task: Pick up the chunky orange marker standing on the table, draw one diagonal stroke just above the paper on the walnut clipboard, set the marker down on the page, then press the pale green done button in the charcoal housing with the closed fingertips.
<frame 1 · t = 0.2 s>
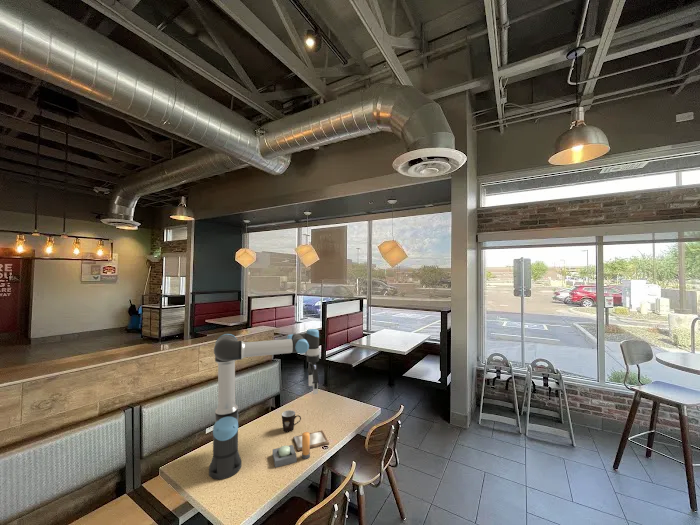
hand: (313, 389, 177), 27 cm above the table, fingers open, 13 cm apart
board: (310, 441, 169), on the table
done button: (284, 451, 154), point 4 cm above the table, slide at 0.0 cm
marker: (305, 456, 155), on the table
coffee mug: (290, 430, 182), on the table
button housing: (284, 458, 154), on the table
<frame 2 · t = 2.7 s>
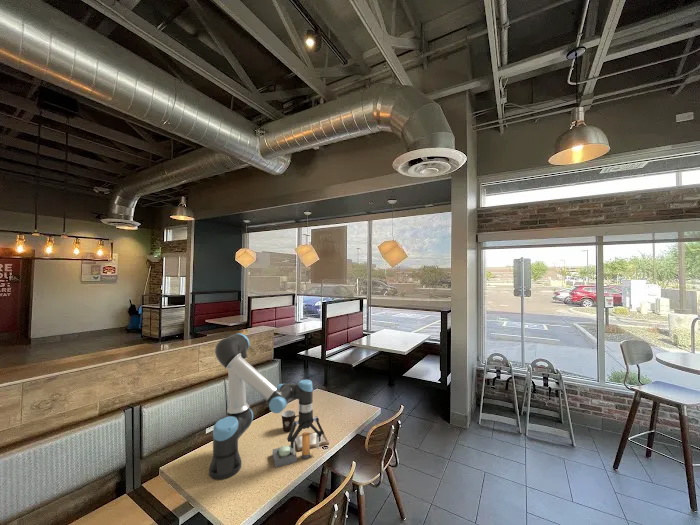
hand: (305, 450, 155), 3 cm above the table, fingers open, 12 cm apart
nothing on the table moved.
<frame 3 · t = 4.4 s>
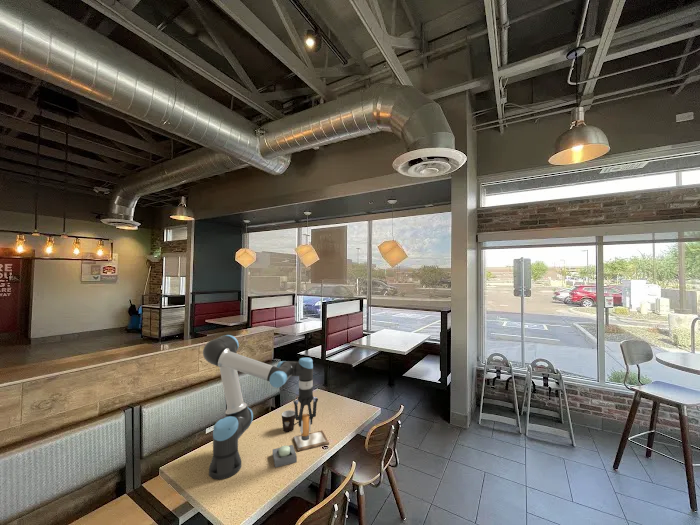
hand: (305, 431, 156), 13 cm above the table, fingers closed on marker, 3 cm apart
marker: (305, 438, 155), point 10 cm above the table, touching gripper
everything else where it was.
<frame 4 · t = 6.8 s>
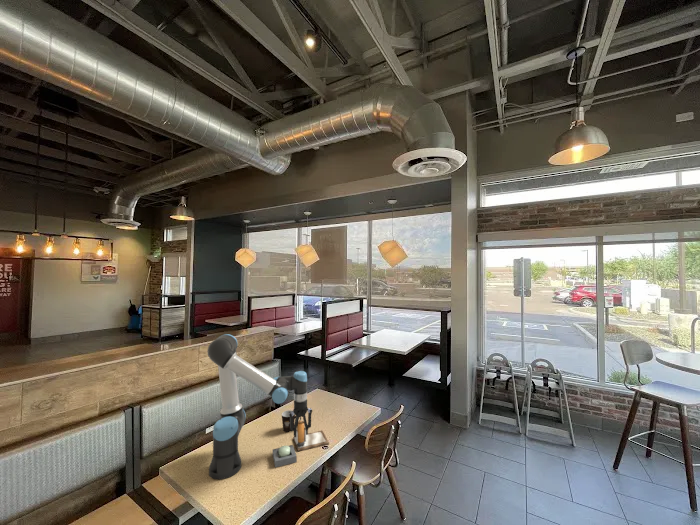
hand: (300, 441, 164), 3 cm above the table, fingers closed on marker, 4 cm apart
marker: (300, 444, 164), point 1 cm above the table, touching board, gripper
everything else where it was.
when the fingers open (3 cm above the table, at t = 9.3 s): marker stays where it is, resting on board.
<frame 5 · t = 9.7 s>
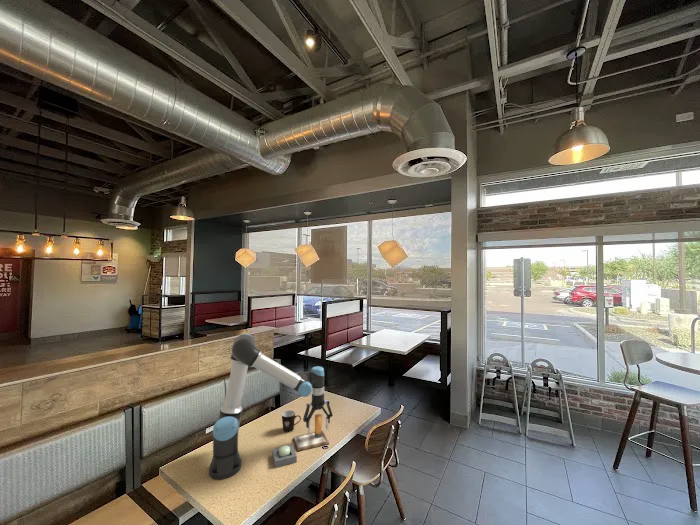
hand: (318, 430, 173), 4 cm above the table, fingers open, 10 cm apart
marker: (318, 435, 173), point 1 cm above the table, touching board
everything else where it was.
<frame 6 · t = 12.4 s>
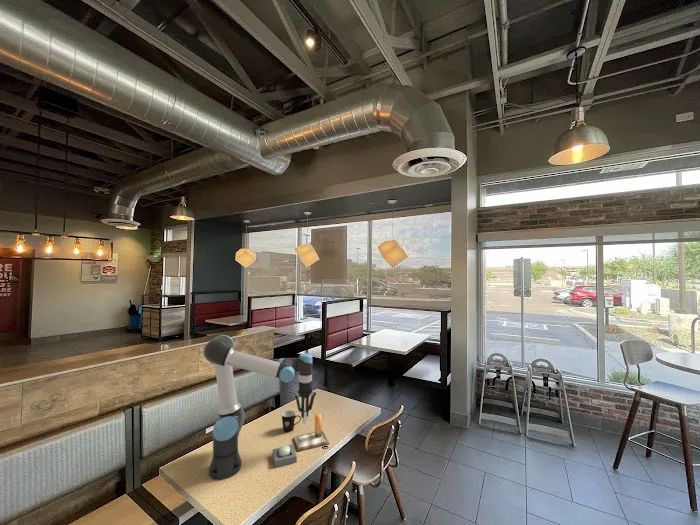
hand: (304, 422, 166), 13 cm above the table, fingers closed
nothing on the table moved.
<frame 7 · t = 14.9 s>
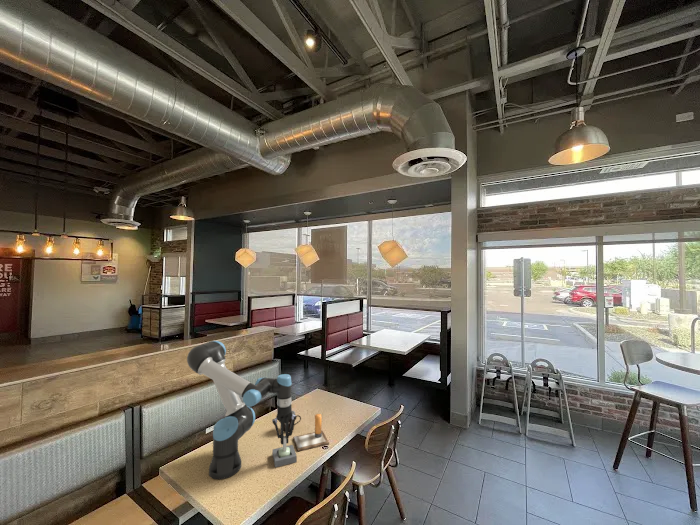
hand: (284, 449, 154), 5 cm above the table, fingers closed
done button: (284, 452, 154), point 3 cm above the table, slide at 0.6 cm, touching gripper
everything else where it was.
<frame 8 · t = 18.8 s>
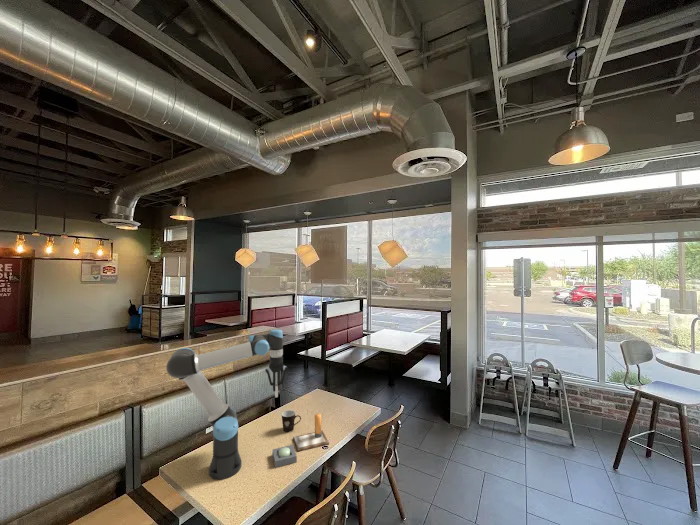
hand: (276, 396, 170), 26 cm above the table, fingers closed
done button: (284, 453, 154), point 3 cm above the table, slide at 1.0 cm
everything else where it was.
at the end: done button slide at 1.0 cm; marker inside the target area on the board (5.3 cm from its centre), point 1.2 cm above the board's base; marker tilted 1° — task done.
